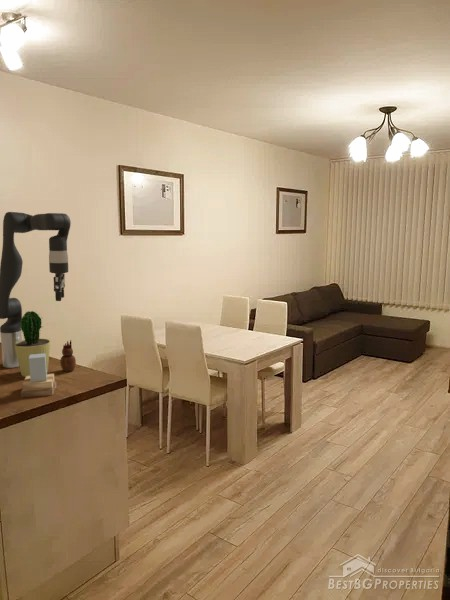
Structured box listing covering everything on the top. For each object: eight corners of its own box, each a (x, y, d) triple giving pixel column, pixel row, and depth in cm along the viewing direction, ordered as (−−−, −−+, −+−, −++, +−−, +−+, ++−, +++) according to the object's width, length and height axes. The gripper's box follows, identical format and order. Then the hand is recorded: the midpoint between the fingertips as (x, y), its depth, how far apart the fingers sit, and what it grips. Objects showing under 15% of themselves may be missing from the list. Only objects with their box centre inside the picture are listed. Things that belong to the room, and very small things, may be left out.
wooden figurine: (78, 369, 216) (76, 339, 214) (70, 373, 211) (68, 342, 209) (66, 368, 219) (64, 338, 216) (58, 371, 213) (56, 340, 211)
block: (31, 377, 189) (29, 354, 187) (47, 376, 191) (45, 353, 189) (30, 382, 183) (28, 358, 182) (46, 380, 185) (44, 356, 184)
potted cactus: (22, 381, 200) (17, 314, 195) (12, 372, 212) (7, 309, 207) (57, 374, 210) (53, 310, 205) (46, 366, 222) (41, 305, 217)
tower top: (27, 382, 192) (26, 375, 192) (54, 380, 195) (54, 373, 195) (23, 391, 182) (22, 384, 181) (52, 388, 185) (51, 381, 184)
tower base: (27, 388, 193) (26, 382, 193) (57, 386, 196) (56, 380, 195) (21, 399, 182) (20, 392, 181) (52, 396, 184) (52, 389, 184)
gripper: (65, 263, 185) (67, 302, 187) (70, 259, 198) (71, 296, 201) (46, 262, 183) (47, 302, 186) (52, 259, 197) (53, 296, 200)
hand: (60, 299), depth 194 cm, fingers open, 8 cm apart
